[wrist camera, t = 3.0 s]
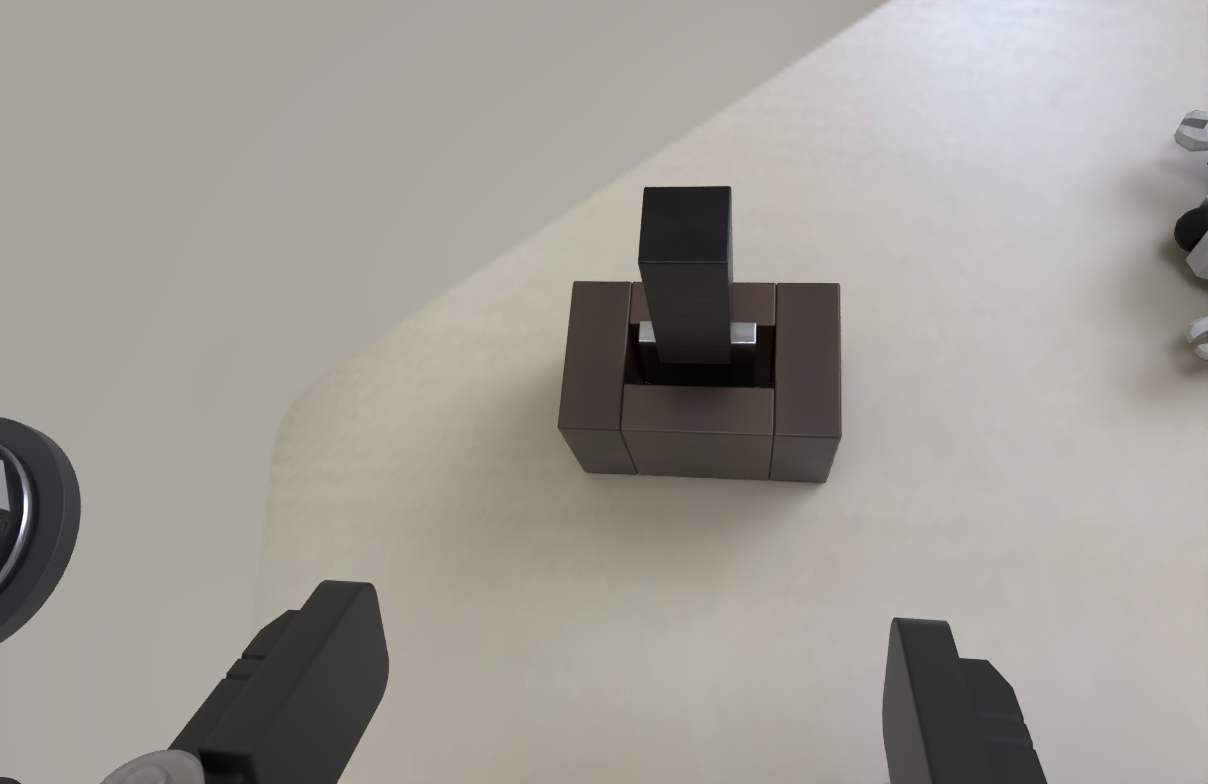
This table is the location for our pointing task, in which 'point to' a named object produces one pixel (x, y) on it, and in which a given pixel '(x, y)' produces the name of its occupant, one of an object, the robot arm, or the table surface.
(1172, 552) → the table surface
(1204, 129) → the robot toy
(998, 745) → the robot arm
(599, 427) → the brown rectangular frame
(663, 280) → the dark grey tall bar
